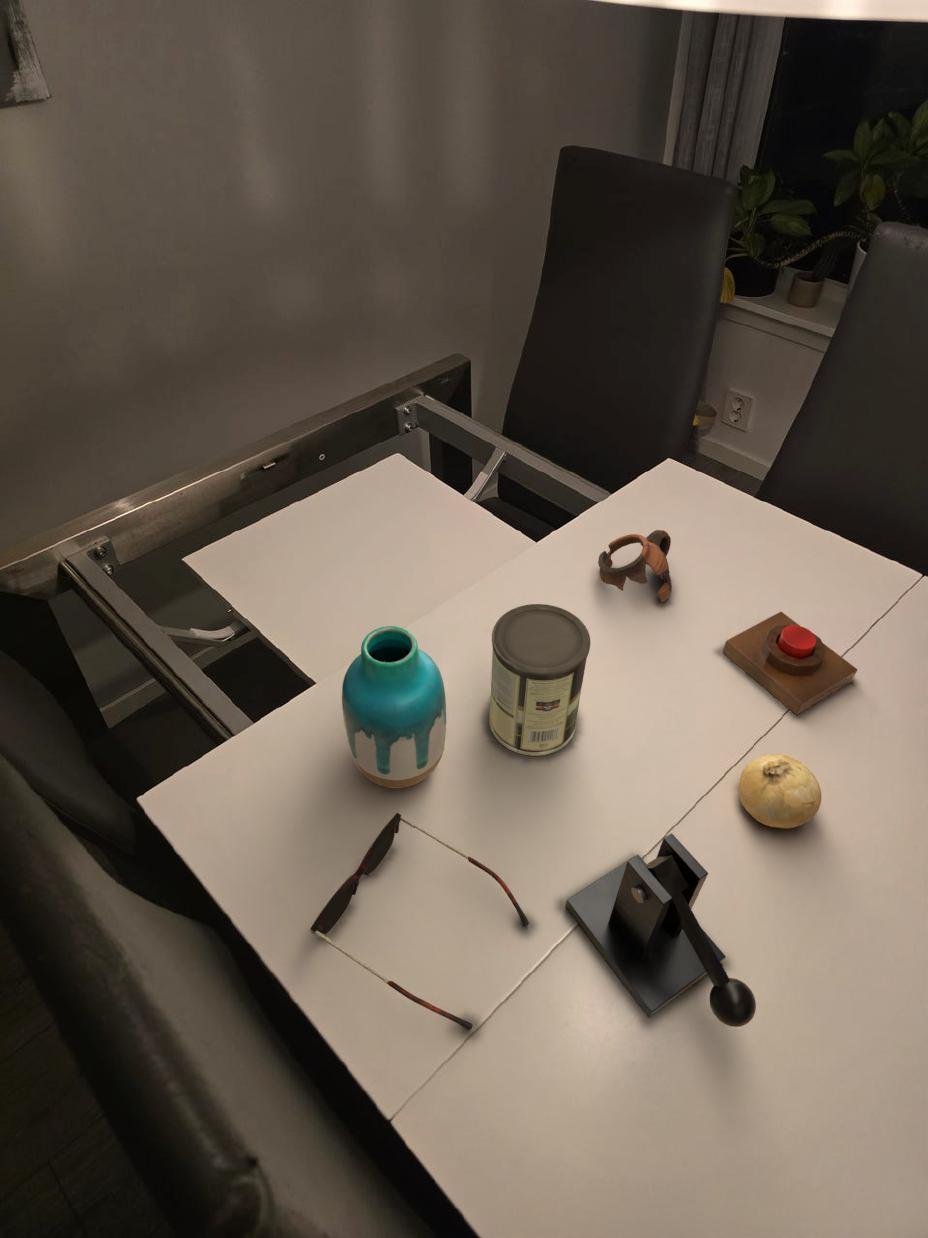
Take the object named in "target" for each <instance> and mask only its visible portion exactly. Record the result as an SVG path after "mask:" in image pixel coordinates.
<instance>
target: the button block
mask: <svg viewBox="0 0 928 1238" xmlns="http://www.w3.org/2000/svg"><path fill="white" fill-rule="evenodd" d="M792 625H796V626H801V625H800V624H799V623H797V622H796V621H794V620H793V619H792V618H791V617H789V616H788V615H787V614H785V613H784V612H783V611H779V612H777V613H775V614H773V615H771V616H770V617H768V618H766V619H764V620H762V621H759V623H757V624H755V625H753V626H751V627H749V628H747V629H746V630H744V631H742V632H739V633H738V634H736V635H734V636H732V637H731V638H728V639H726V641H725V644H724V647H723V649H722V653H723V654H724V655H725V656H726V657H727V658H729V659H730V660H731V661H732V662H733V663H735V665H737V666H738V667H739V668H740V669H742V670H743V671H744V672H745V673H746V674H748V675H749V676H750V677H751V678H752V679H753V680H754V681H756V682H757V683H758V684H759V685H760V686H762V687H763V689H765V690H766V691H768V692H769V693H770V695H772V696H774V698H776V699H777V700H778V701H779V702H780V703H782V704H783V705H784V706H785V707H786V708H787V709H789V710H790V711H791V712H792V713H793V714H795V716H797V715H799V714H801V713H803V712H804V711H805V710H808V709H809V708H810V707H812V706H813V705H815V704H818V703H819V702H821V700H824V699H825V698H826V697H828V696H830V695H831V694H833V693H835V692H836V691H838V690H840V689H841V688H843V687H845V686H846V685H848V684H850V683H852V681H853V679H854V678H855V675H856V674H857V672H858V670H859V669H858V668H856V667H855V666H854V665H852V664H851V663H850V662H848V661H847V660H846V659H845V658H843V657H842V656H841V655H839V654H838V653H837V652H835V651H834V650H833V649H832V648H830V647H829V646H828V645H826V644H825V643H824V642H823V641H822V639H821V638H820V636H818V635H817V634H816V633H814V632H812V633H813V634H814V636H815V638H816V644H815V646H814V648H813V651H812V653H811V654H810V655H809V656H808V657H806V658H802V659H797V658H793V657H791V656H788V655H786V654H785V653H783V652H782V651H781V650H780V649H779V647H778V640H779V638H780V635H781V633H782V630H783V629H784V628H786V627H788V626H792Z"/></svg>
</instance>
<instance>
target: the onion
mask: <svg viewBox="0 0 928 1238" xmlns="http://www.w3.org/2000/svg"><path fill="white" fill-rule="evenodd" d="M738 794H739V799H740V801H741V804H742V807H744V809H745V810H746V811H747V812H748V813H749V814H750V815H751V817H752V818H753V819H754V820H756V821H757V822H759V823H761V824H762V825H765V826H767V827H770V828H778V829H783V830H784V829H794V828H797V827H799V826H802V825H805V824H806V823H808V822H809V821H811V820H812V819H814V817H815V816H816V815H817V813H818V811H819V810H820V807H821V804H822V790H821V786H820V783H819V781H818V779H817V778H816V776H815V774H814V773H813V772H812V770H811V769H810V768H809V767H808V766H807V765H806V764H805V763H803V762H801V761H800V760H799V759H796V758H794V757H791V756H788V755H786V754H766V755H761V756H759V757H757V758H755V759H754V760H752V761H751V762H750V763H748V764H747V765H746V766H745V767H744V768H743V769H742V770H741V774H740V777H739V781H738Z"/></svg>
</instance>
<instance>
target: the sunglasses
mask: <svg viewBox="0 0 928 1238" xmlns="http://www.w3.org/2000/svg"><path fill="white" fill-rule="evenodd" d="M401 822H403V823H405V825H407V826H410V827H411V828H413V829H417V830H419V831H420V832H421V833H423V834H425V835H426V836H428V837H429V838H431V839H433V840H434V841H437V842H438V843H440V844H441V845H443V846H445V847H446V848H448V849H450V850H451V851H453V852H455V853H456V854H458V855H460V856H461V857H463V858H465V859H466V860H467V861H468V862H469V863H471V864H472V865H474V866H475V867H477V868H479V869H480V870H482V871H483V872H485V873H486V874H487V875H489V876H490V877H492V879H494V880H495V882H497V883H498V884H499V885H500V886H501V888H502V889H503V891H504V892H505V894H506V895H507V897H508V899H509V900H510V902H511V903H512V905H513V907H514V908H515V910H516V912H517V915H518V917H519V919H520V921H521V923H522V926H523V927H528V926H529V925H530V922H529V920H528V918H527V916H526V915H525V913H524V911H523V909H522V908H521V906H520V904H519V903H518V901H517V900H516V898H515V896H514V895H513V893H512V891H511V890H510V888H509V887H508V885H507V883H506V882H504V881H503V879H502V878H501V877H500V876H499V875H498V874H497V873H496V872H494V871H493V870H492V869H491V868H489V867H488V866H486V865H484V864H482V863H481V862H479V861H478V860H476V859H474V858H472V857H471V856H470V855H467V854H465V853H464V852H462V851H460V850H458V849H456V848H455V847H453V846H452V845H450V844H448V843H446V842H445V841H443V840H441V839H440V838H438V837H436V836H435V835H433V834H432V833H430V832H428V831H426V830H425V829H424V828H422V827H420V826H418V825H417V824H416V823H414V822H413V821H411V820H409V819H407V818H406V817H405V816H402V814H401V813H399V812H396V813H395V814H394V816H392V818H391V819H390V820H389V821H388V822H387V824H386V825H385V826H384V827H383V828H382V830H381V831H380V833H379V834H378V835H377V837H376V838H375V840H374V841H373V842H372V844H371V846H370V847H369V848H368V850H367V852H366V854H365V855H364V856H363V858H362V860H361V862H360V864H359V866H358V868H357V869H356V871H354V873H353V874H352V875H350V876H349V877H348V878H347V879H346V880H345V881H344V883H343V884H341V886H340V887H339V888H338V889H337V891H335V892H334V894H333V895H332V897H330V899H329V900H328V902H327V903H326V905H325V906H324V907H323V909H321V912H320V913H319V914H318V916H317V918H316V919H315V921H314V922H313V923H312V925H311V927H310V928H309V931H310V933H311V934H313V935H314V936H317V937H319V939H321V940H323V941H324V942H325V943H327V944H329V945H330V946H332V947H333V948H335V949H336V950H338V951H339V952H341V953H342V954H344V955H345V956H346V957H347V958H349V959H351V960H352V961H354V962H355V963H357V964H358V965H360V966H361V967H362V968H363V969H365V970H367V971H368V972H370V973H371V974H373V975H374V976H376V977H377V978H378V979H380V980H382V981H383V982H384V983H385V984H386V985H388V987H391V988H392V989H394V990H395V991H397V992H398V993H399V994H401V995H402V996H404V997H405V998H407V999H409V1000H410V1001H412V1002H414V1003H416V1004H418V1005H419V1006H422V1007H424V1008H426V1009H427V1010H429V1011H431V1012H433V1013H435V1014H438V1015H439V1016H441V1017H443V1018H446V1019H448V1020H450V1021H451V1022H454V1023H456V1024H458V1025H460V1026H461V1027H463V1028H465V1029H467V1030H472V1029H473V1023H472V1022H470V1021H467V1020H465V1019H462V1018H460V1017H458V1016H456V1015H454V1014H452V1013H450V1012H449V1011H448V1012H447V1011H446V1010H444V1009H442V1008H439V1007H437V1006H435V1005H433V1004H432V1003H430V1002H428V1001H426V1000H424V999H422V998H420V997H418V996H416V995H414V994H413V993H411V992H409V991H407V990H406V989H404V988H403V987H402V986H400V985H399V984H398V983H396V982H395V981H393V980H388V979H387V978H386V977H384V976H382V975H381V974H380V973H379V972H376V971H375V970H374V969H372V968H371V967H369V966H367V965H366V964H365V963H363V962H362V961H360V960H359V959H357V958H356V957H354V956H353V955H352V954H351V953H348V952H347V951H346V950H344V949H343V948H341V947H340V946H338V945H337V944H336V943H334V942H333V941H332V940H331V939H330V938H329V937H328V936H326V935H328V934H329V933H330V932H331V931H332V930H333V929H334V928H335V926H337V924H338V923H339V921H340V920H341V918H342V917H343V916H344V915H345V913H346V911H347V910H348V908H349V906H350V903H351V901H352V898H353V896H356V893H357V891H358V887H359V884H360V881H361V878H362V877H363V876H366V877H369V876H370V875H372V874H373V873H374V872H376V870H377V869H378V868H379V866H381V864H382V862H383V861H384V859H385V858H386V857H387V855H388V853H389V851H390V850H391V848H392V846H393V844H394V840H395V836H396V835H398V833H399V831H400V830H399V829H400V823H401Z"/></svg>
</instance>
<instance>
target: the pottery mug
mask: <svg viewBox="0 0 928 1238" xmlns="http://www.w3.org/2000/svg"><path fill="white" fill-rule="evenodd" d="M632 544H640V546H642V550H641V552H640V554H639V555H638V556H637V557H636V558H635V559H634V560H633V561H631V562H630V563H628V564H626V565H623V566H620V567H612V566H613V560H612V555H613V554H614V553H615V552H616V551H619V550H620V549H621V548H624V547H626V546H629V545H632ZM671 544H672V539H671V536H670V535H669V533H668V532H667V531H665V530H662V529H656V530H653V531H652V532H651V533H649V535H647V536H646V537H645V536H643V535H641V534H637V533H634V534H633V533H631V534H626V535H623V536H620V537H618V538H616V539H614V540H612V541H611V542H609V544H607V546H608V549H609V551H608V552H607V551H606V550H603V551H602V552H600V553H599V556H598V560H597V563H598V567H599V570H598V571H599V572H598V573H599V578H600V580H601V582H603V583H605V584H607V585H612V586H614V587H616V588H617V589H618V590H620V591H621V592H623V591H624V586H625V582H626V580H627V579H629V580H630V582H635V583H638V584H641V585H644V584H647V583H648V578H647V576H646V574H647V571H646V570H647V569H646V568H647V566H648V567H650V569H651V570H652V571H653V573H654V574H655V575H657V576H661V578H662V580H664V583H663V585H662V586H661V587H660V588H659V590H657V592H656V595H657V596H658V597H659V598H658V599H659V600H658V601H659V603H660V604H663V603H664V602H665V601H667V600H668V598H669V597H670V595H671V593H672V589H673V584H672V580H671V579H672V578H671V575H670V569H669V568H670V567H669V562H668V558H667V556H668V554H669V551H670V549H671Z"/></svg>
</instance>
